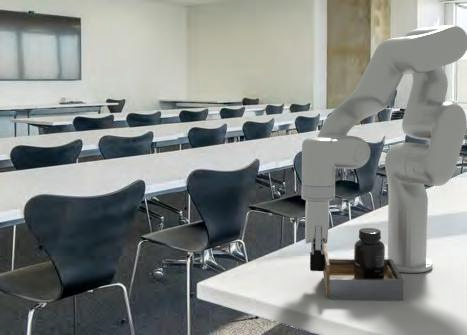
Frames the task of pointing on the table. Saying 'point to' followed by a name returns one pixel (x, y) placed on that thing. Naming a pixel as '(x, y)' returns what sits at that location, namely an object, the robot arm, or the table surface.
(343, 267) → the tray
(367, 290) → the housing
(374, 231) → the supplement bottle
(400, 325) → the table surface
